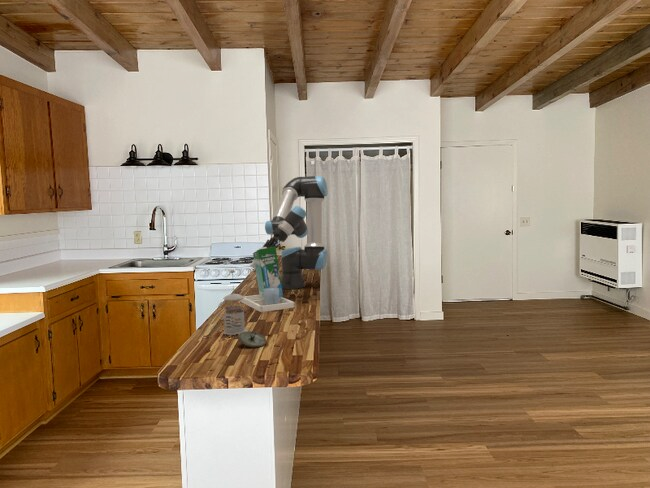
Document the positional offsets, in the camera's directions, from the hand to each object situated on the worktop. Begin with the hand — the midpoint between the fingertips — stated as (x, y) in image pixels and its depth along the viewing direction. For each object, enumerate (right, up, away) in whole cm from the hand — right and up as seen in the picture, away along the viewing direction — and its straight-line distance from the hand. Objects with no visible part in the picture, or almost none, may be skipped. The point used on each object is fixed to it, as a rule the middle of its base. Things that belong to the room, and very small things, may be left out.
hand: (252, 267), depth 258 cm
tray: (+7, -19, -3) cm, 21 cm away
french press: (-1, -24, -49) cm, 54 cm away
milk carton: (+9, -15, +1) cm, 18 cm away
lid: (+9, -25, -68) cm, 73 cm away
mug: (+11, -19, -10) cm, 24 cm away
